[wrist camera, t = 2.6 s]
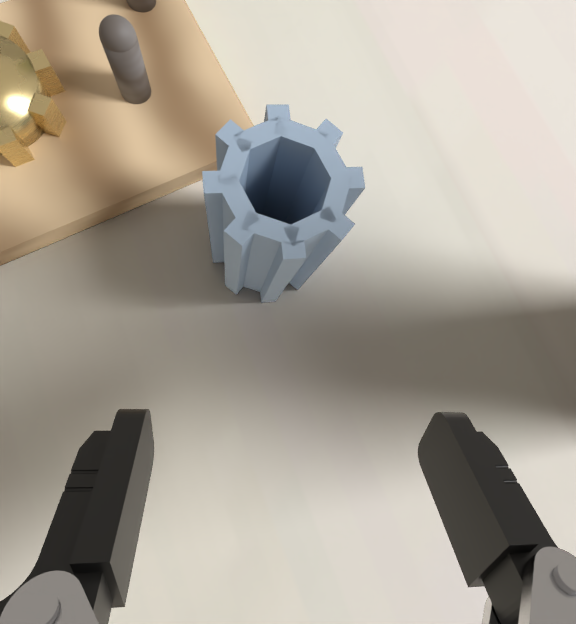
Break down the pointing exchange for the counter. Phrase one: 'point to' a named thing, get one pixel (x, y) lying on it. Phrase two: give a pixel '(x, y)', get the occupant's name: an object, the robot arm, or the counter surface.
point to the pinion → (277, 201)
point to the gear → (25, 97)
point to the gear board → (113, 115)
